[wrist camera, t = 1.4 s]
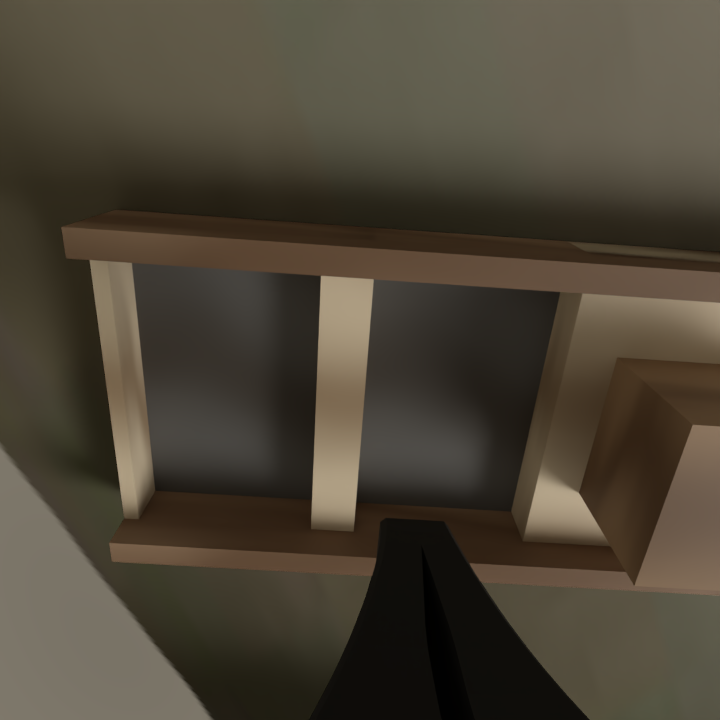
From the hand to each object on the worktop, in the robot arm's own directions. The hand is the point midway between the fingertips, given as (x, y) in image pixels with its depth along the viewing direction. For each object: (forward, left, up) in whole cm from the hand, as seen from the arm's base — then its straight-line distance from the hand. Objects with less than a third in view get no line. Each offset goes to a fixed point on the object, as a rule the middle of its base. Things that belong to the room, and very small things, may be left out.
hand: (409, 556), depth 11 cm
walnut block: (0, -9, -6) cm, 11 cm away
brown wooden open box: (0, -6, -8) cm, 10 cm away
